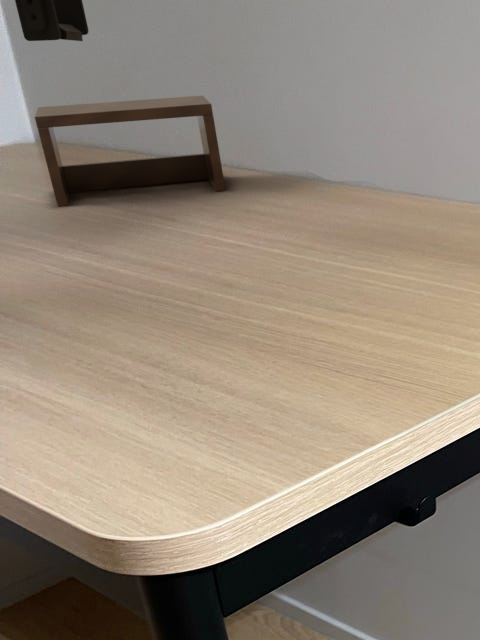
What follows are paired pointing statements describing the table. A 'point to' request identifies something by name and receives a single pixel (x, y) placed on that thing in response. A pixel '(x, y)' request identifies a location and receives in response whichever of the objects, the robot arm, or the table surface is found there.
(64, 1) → the robot arm
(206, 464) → the table surface
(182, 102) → the shelf
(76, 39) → the block
